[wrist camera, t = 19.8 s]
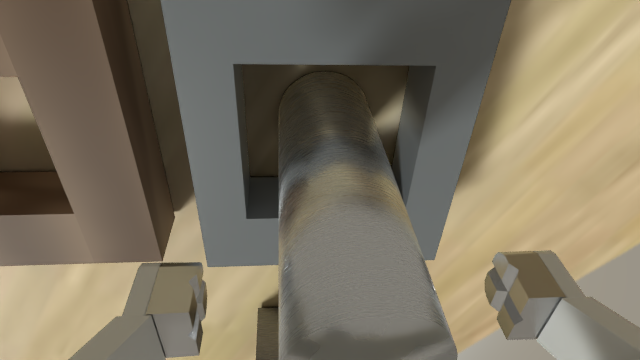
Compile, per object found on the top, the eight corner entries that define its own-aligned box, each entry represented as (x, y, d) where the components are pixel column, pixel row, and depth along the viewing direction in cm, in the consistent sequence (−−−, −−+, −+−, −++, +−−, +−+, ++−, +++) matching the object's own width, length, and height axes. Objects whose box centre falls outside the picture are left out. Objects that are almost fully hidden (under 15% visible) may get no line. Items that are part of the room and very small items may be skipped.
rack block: (215, 223, 22) (207, 267, 20) (174, -55, 15) (154, -37, 12) (418, 218, 23) (434, 259, 21) (482, -45, 16) (519, -27, 13)
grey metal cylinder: (279, 151, 20) (280, 418, 11) (277, 71, 18) (276, 322, 8) (363, 150, 20) (437, 408, 11) (372, 71, 18) (478, 313, 8)
